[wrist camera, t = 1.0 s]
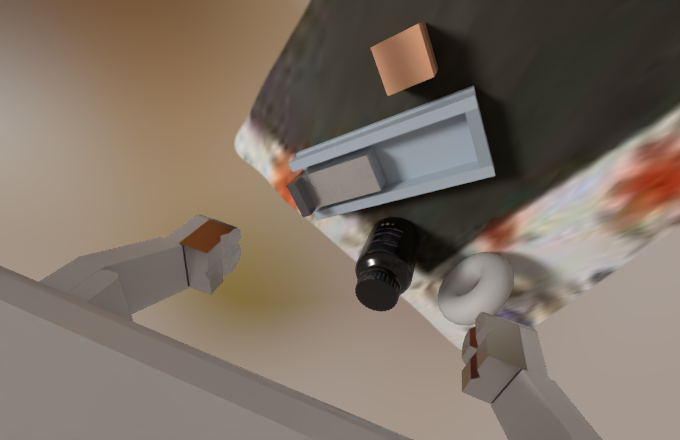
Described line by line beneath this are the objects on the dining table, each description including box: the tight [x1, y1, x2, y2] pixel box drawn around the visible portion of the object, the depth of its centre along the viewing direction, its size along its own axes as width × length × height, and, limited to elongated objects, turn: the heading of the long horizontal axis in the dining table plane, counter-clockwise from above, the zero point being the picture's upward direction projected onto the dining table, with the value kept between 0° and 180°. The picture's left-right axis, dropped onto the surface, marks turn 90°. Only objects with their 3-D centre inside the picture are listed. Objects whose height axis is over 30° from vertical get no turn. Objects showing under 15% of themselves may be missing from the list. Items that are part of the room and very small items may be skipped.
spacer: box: [371, 22, 438, 96], centre depth 31 cm, size 4×4×5 cm
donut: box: [438, 252, 514, 325], centre depth 39 cm, size 10×4×10 cm, turn 141°
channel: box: [288, 85, 495, 220], centre depth 38 cm, size 22×9×4 cm, turn 115°
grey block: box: [287, 146, 386, 217], centre depth 40 cm, size 10×4×5 cm, turn 115°
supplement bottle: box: [355, 217, 419, 311], centre depth 40 cm, size 7×7×12 cm
